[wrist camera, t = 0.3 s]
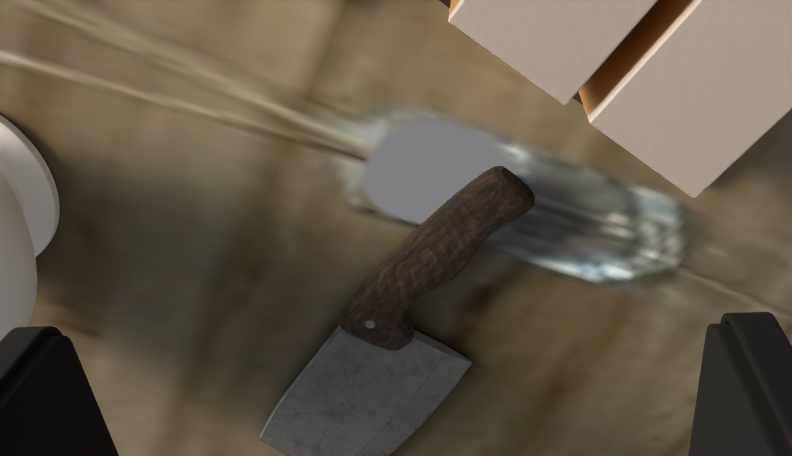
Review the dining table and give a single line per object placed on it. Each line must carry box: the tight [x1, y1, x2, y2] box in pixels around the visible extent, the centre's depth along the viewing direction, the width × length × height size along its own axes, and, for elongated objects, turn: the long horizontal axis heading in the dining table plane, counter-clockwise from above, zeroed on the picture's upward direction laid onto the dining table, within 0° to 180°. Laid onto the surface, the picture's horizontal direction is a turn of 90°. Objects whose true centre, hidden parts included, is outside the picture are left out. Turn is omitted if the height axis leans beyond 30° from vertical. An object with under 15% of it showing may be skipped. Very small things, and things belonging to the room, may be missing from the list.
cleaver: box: [259, 166, 535, 456], centre depth 48 cm, size 29×10×2 cm, turn 150°
